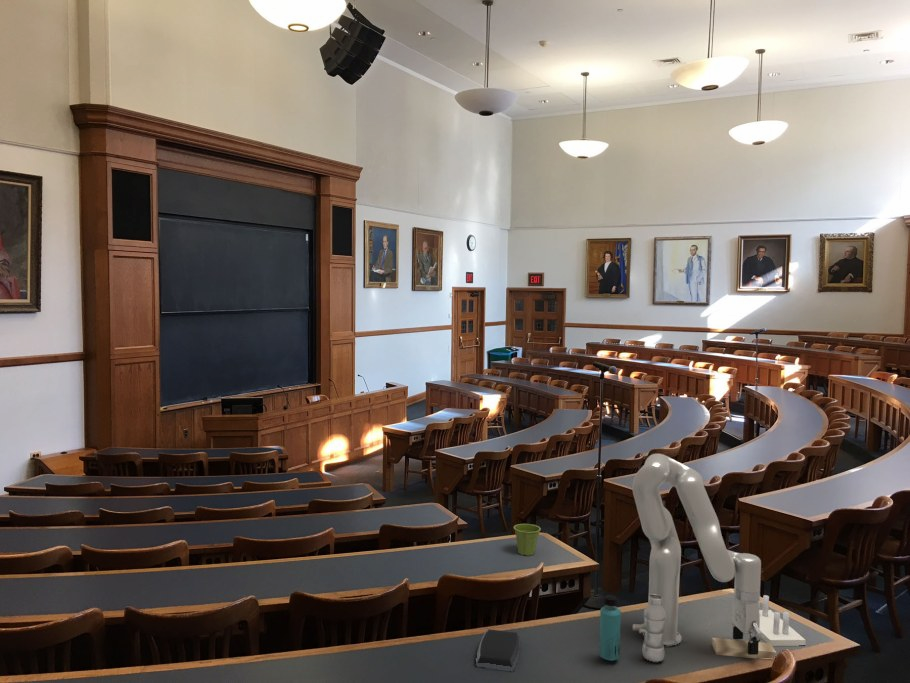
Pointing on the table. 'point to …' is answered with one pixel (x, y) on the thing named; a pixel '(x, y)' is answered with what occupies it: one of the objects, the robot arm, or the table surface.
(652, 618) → the plastic bottle
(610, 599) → the beverage bottle
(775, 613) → the peg stand
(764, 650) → the shelf board
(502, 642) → the external hard drive
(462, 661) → the table surface
